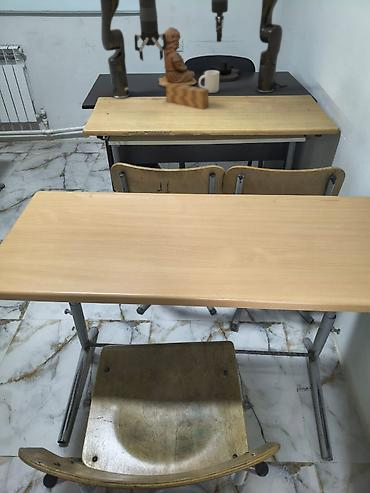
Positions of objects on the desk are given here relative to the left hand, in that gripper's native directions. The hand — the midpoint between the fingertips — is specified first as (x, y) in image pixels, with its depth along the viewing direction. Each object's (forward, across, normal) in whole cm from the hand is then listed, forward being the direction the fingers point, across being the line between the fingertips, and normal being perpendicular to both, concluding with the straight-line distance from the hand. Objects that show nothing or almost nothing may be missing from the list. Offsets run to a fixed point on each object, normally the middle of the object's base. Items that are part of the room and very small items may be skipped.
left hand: (151, 60), depth 165 cm
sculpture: (+26, -15, -54) cm, 62 cm away
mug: (+26, -32, -33) cm, 52 cm away
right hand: (-4, -34, -14) cm, 37 cm away
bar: (+26, -17, -14) cm, 34 cm away
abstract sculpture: (+26, -44, -61) cm, 80 cm away
